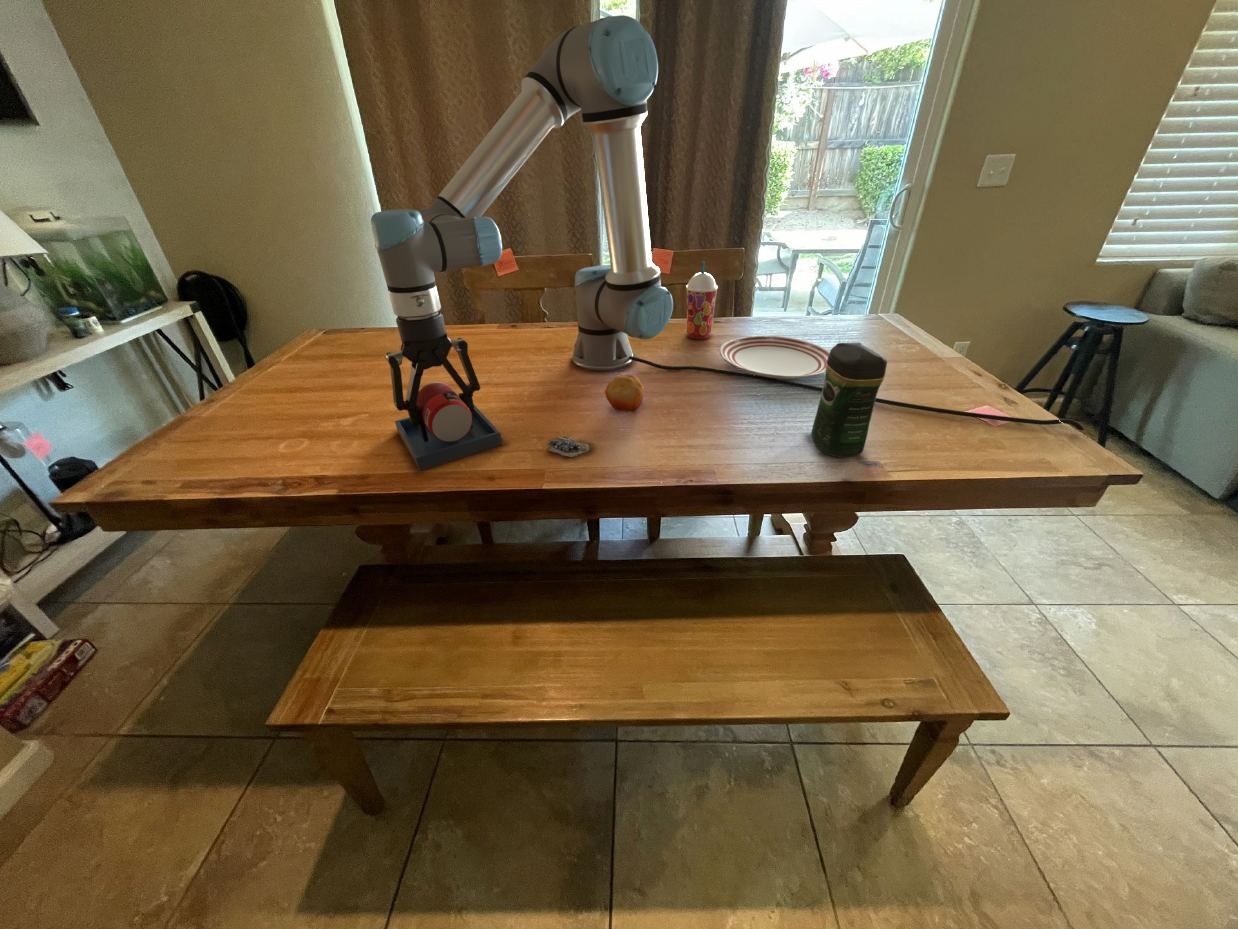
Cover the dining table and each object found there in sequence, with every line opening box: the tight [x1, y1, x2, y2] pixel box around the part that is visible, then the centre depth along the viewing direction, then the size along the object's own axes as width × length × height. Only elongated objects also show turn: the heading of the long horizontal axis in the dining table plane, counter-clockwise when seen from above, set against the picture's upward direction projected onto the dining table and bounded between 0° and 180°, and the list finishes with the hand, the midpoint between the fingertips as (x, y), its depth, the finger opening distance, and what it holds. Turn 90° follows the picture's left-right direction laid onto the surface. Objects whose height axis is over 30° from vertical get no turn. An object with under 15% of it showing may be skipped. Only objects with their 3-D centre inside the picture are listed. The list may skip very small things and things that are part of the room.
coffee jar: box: [810, 341, 888, 458], centre depth 87 cm, size 10×8×19 cm
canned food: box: [416, 381, 472, 442], centre depth 93 cm, size 8×8×11 cm
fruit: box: [604, 373, 645, 412], centre depth 105 cm, size 8×8×8 cm
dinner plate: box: [719, 335, 830, 380], centre depth 123 cm, size 27×27×3 cm
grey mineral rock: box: [545, 435, 591, 458], centre depth 93 cm, size 7×8×2 cm
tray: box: [394, 403, 503, 472], centre depth 96 cm, size 16×15×3 cm
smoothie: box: [685, 261, 718, 340], centre depth 138 cm, size 8×8×20 cm
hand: (447, 432), depth 96 cm, fingers closed on canned food, 8 cm apart
